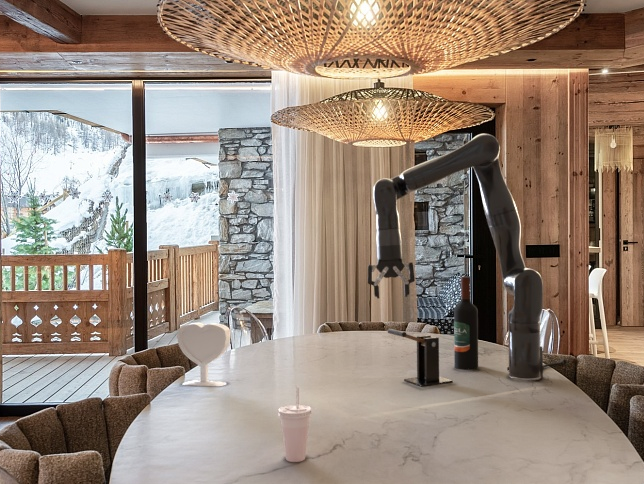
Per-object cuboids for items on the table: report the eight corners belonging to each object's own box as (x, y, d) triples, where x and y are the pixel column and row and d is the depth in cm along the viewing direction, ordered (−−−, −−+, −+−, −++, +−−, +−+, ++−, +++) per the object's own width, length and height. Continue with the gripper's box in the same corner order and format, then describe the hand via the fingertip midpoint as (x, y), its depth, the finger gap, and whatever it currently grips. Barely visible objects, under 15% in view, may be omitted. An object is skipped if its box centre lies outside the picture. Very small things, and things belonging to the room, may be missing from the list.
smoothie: (305, 466, 114) (304, 391, 114) (273, 462, 115) (272, 389, 115) (316, 454, 120) (315, 383, 120) (286, 451, 122) (285, 382, 121)
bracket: (421, 389, 170) (420, 340, 170) (404, 383, 178) (403, 336, 178) (452, 384, 176) (452, 337, 176) (434, 378, 184) (434, 333, 184)
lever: (401, 338, 168) (403, 329, 168) (386, 334, 175) (388, 326, 175) (438, 350, 174) (440, 342, 174) (422, 346, 181) (424, 338, 181)
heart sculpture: (176, 384, 179) (175, 324, 179) (184, 380, 184) (183, 321, 184) (225, 386, 176) (224, 325, 176) (232, 382, 181) (231, 322, 181)
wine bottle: (481, 371, 193) (480, 277, 193) (458, 372, 192) (457, 277, 192) (473, 366, 201) (472, 276, 200) (451, 367, 199) (450, 276, 199)
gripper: (411, 243, 188) (414, 295, 188) (365, 246, 188) (368, 298, 188) (413, 242, 181) (416, 297, 180) (365, 245, 181) (368, 299, 180)
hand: (392, 297), depth 184 cm, fingers open, 8 cm apart
